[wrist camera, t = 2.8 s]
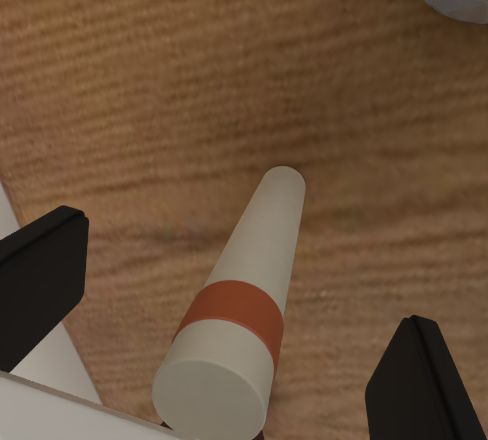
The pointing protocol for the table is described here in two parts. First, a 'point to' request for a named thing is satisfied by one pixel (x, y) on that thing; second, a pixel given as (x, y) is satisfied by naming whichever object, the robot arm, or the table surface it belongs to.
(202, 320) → the beige cylinder rod
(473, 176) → the table surface
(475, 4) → the tumbler
